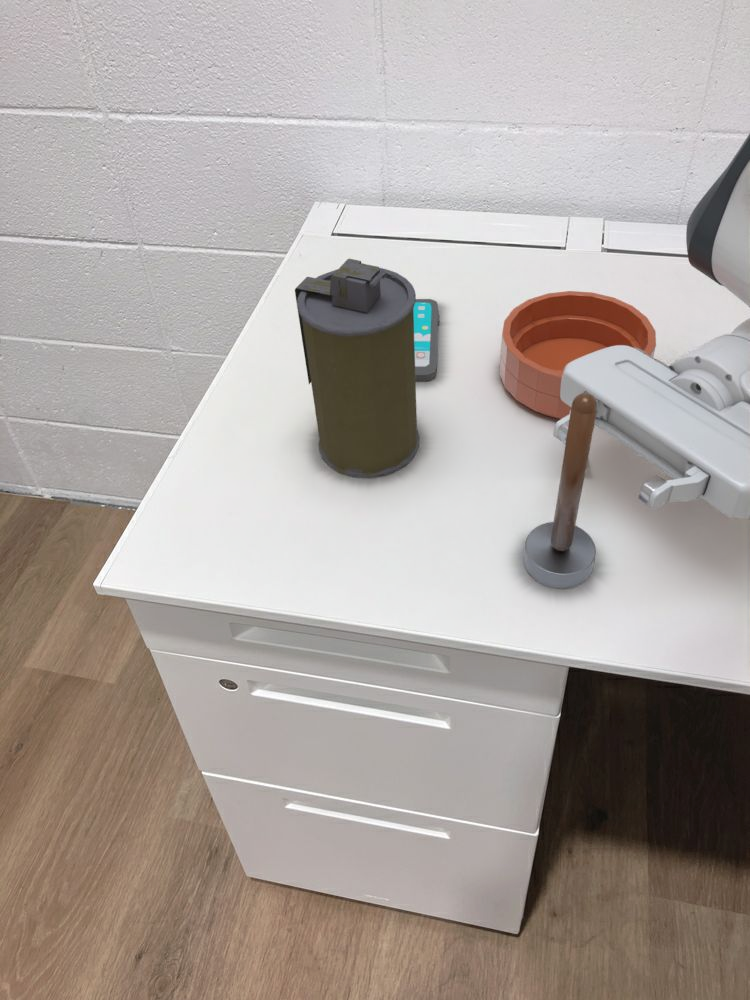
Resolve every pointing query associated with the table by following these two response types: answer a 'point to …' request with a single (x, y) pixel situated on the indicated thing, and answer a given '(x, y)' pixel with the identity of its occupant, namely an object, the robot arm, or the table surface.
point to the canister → (361, 366)
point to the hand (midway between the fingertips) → (601, 465)
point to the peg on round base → (566, 511)
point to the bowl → (563, 342)
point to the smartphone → (425, 338)
